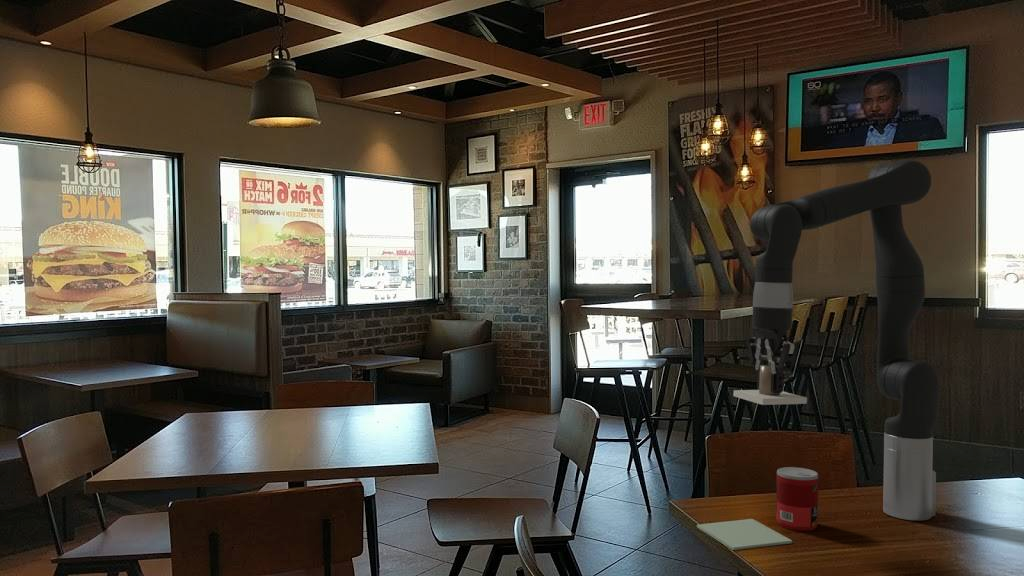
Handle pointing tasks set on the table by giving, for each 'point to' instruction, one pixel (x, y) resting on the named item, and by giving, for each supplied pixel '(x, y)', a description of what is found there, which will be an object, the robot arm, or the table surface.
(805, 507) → the canned food
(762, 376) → the lid
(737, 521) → the mat
